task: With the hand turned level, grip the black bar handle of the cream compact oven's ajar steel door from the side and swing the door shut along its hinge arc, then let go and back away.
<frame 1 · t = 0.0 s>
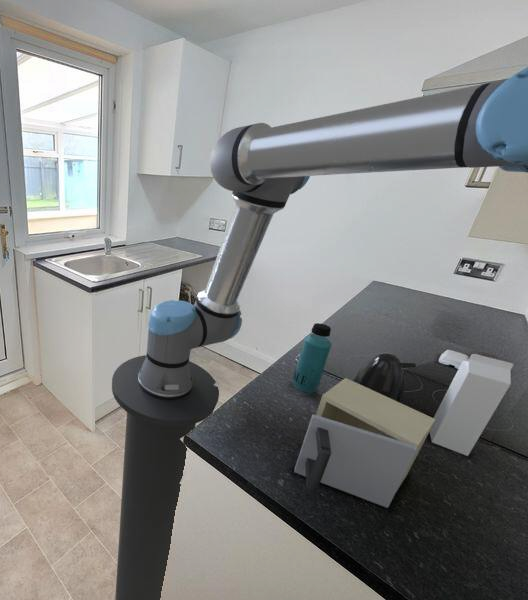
oven: (353, 460, 65), on the counter
oven door: (352, 473, 53), point 7 cm above the counter, hinge at 28.0°
beverage bottle: (302, 390, 86), on the counter
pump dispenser: (370, 404, 82), on the counter
milk: (446, 441, 71), on the counter
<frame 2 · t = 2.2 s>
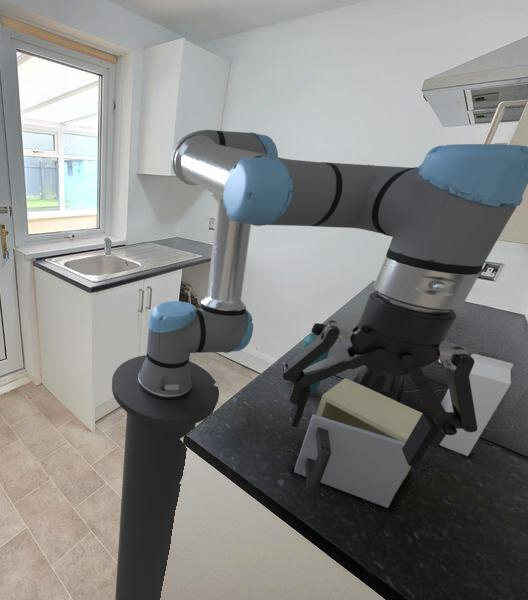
hand: (347, 438, 43), 20 cm above the counter, tool pointing down, fingers open, 13 cm apart
nothing on the counter moved.
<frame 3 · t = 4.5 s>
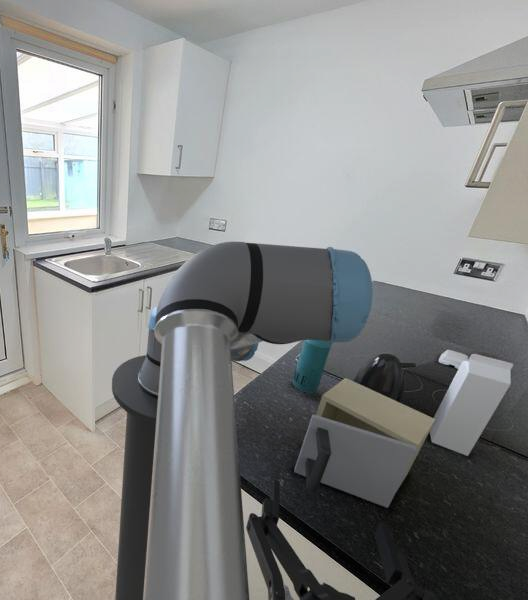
hand: (324, 506, 46), 9 cm above the counter, tool horizontal, fingers open, 13 cm apart
nothing on the counter moved.
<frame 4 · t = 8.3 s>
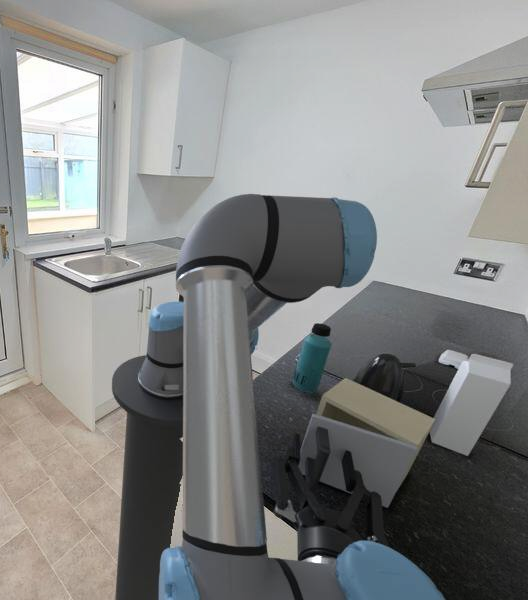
hand: (320, 447, 57), 8 cm above the counter, tool horizontal, fingers open, 7 cm apart
oven door: (352, 473, 53), point 7 cm above the counter, hinge at 26.9°, touching gripper
everything else where it was.
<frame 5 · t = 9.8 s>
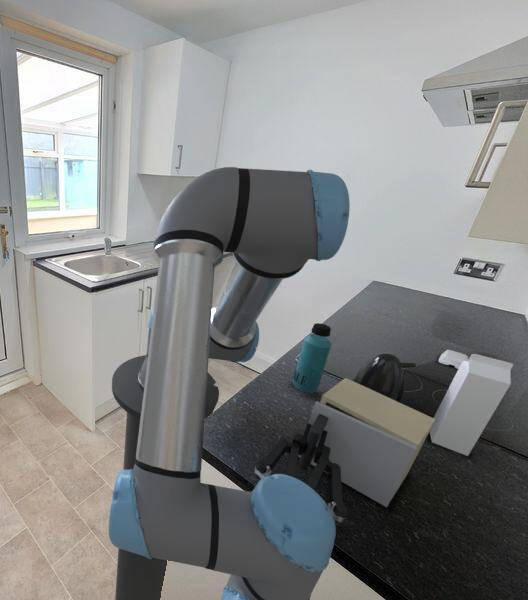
hand: (315, 432, 61), 8 cm above the counter, tool horizontal, fingers closed on oven door, 2 cm apart
oven door: (346, 461, 56), point 7 cm above the counter, hinge at 9.7°, touching gripper
everything else where it was.
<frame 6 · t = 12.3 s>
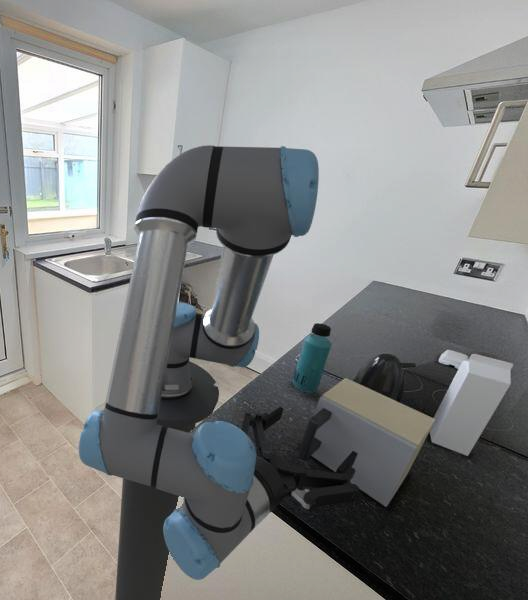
hand: (313, 433, 60), 8 cm above the counter, tool horizontal, fingers open, 13 cm apart
oven door: (345, 455, 57), point 7 cm above the counter, hinge at -0.6°
everything else where it was.
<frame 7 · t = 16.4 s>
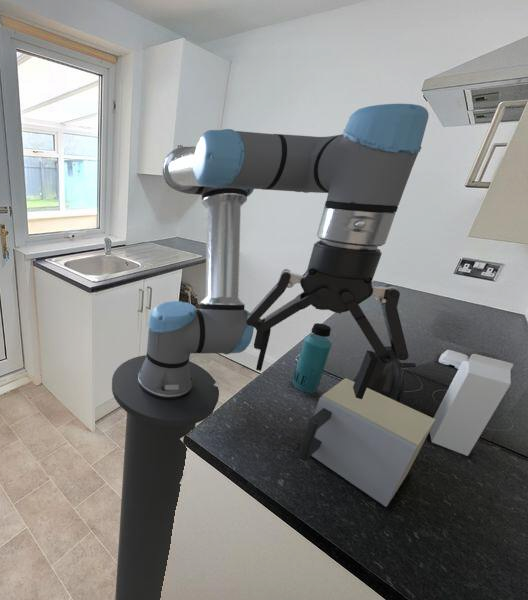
hand: (305, 379, 48), 25 cm above the counter, tool pointing down, fingers open, 13 cm apart
nothing on the counter moved.
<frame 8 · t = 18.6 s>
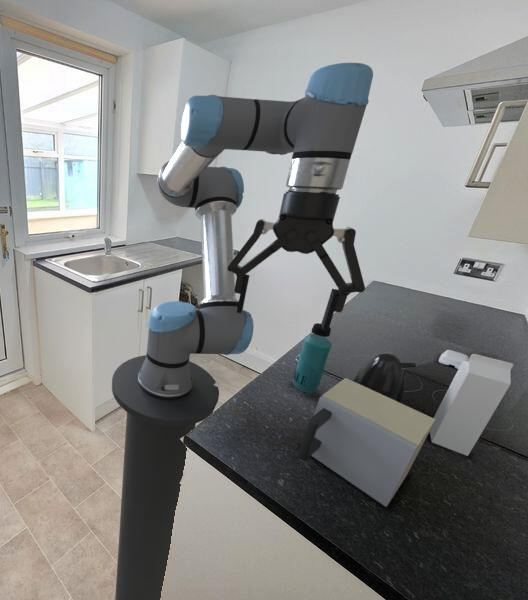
hand: (279, 319, 54), 31 cm above the counter, tool pointing down, fingers open, 13 cm apart
nothing on the counter moved.
at the end: oven door at -1° (first picture: +28°); the gripper is holding nothing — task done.
